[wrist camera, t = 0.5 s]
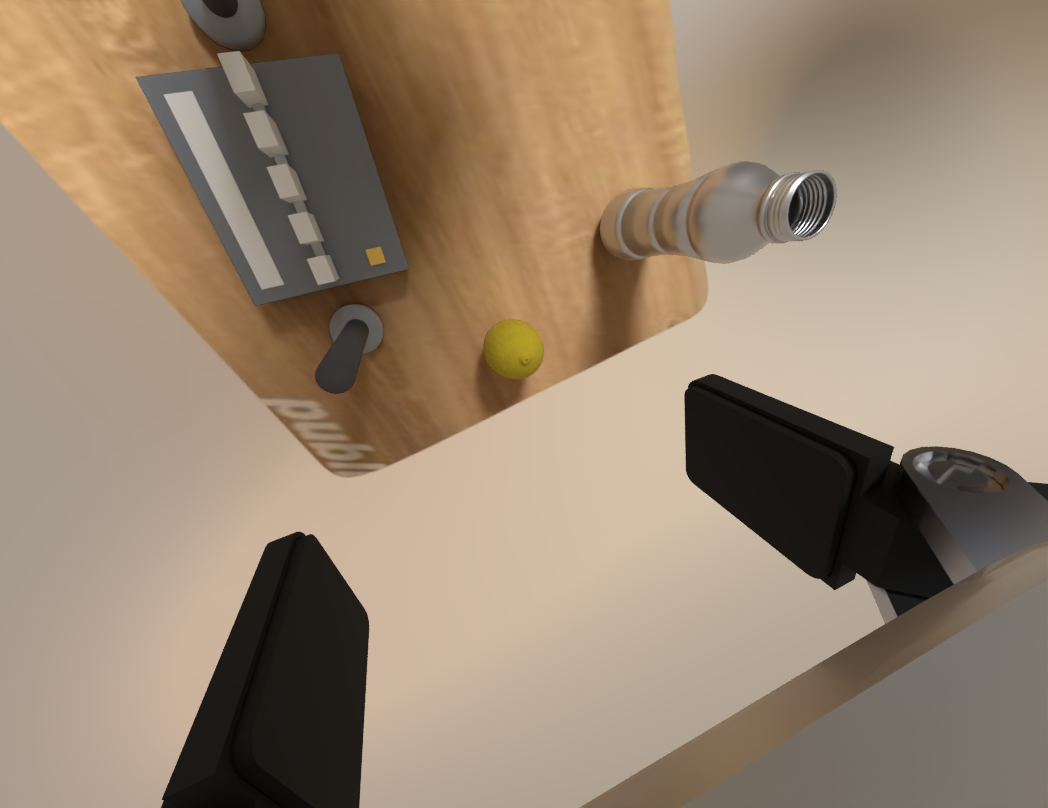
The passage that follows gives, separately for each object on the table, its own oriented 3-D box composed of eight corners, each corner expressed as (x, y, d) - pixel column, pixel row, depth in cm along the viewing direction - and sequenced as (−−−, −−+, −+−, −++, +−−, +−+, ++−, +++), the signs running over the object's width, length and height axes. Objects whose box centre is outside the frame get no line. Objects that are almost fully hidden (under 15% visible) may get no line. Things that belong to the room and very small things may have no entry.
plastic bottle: (647, 255, 41) (842, 258, 23) (592, 264, 39) (756, 274, 21) (649, 188, 38) (870, 134, 20) (589, 195, 36) (774, 141, 19)
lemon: (485, 372, 40) (505, 398, 33) (469, 323, 37) (487, 339, 30) (532, 355, 41) (561, 377, 34) (520, 306, 38) (548, 319, 31)
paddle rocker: (234, 71, 23) (215, 51, 21) (254, 69, 24) (238, 48, 21) (324, 283, 29) (318, 286, 27) (340, 279, 29) (335, 282, 27)
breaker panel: (162, 95, 25) (133, 75, 22) (344, 72, 27) (338, 51, 25) (266, 301, 31) (254, 306, 28) (407, 267, 34) (409, 268, 31)
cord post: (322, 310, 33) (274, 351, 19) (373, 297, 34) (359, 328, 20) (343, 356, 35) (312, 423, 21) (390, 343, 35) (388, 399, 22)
